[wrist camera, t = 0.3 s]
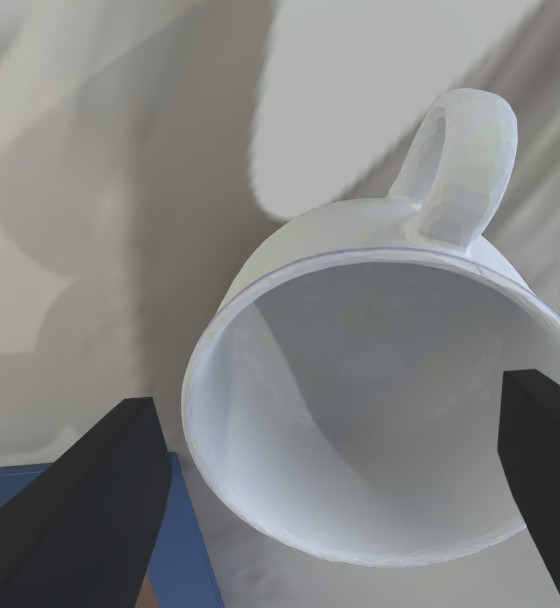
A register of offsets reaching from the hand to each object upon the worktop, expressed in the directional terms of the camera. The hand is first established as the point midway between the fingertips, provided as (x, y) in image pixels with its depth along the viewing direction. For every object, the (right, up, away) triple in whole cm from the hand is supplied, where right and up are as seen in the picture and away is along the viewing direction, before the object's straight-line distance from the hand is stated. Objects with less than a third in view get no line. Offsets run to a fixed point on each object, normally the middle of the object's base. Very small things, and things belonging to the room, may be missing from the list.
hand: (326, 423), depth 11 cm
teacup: (+3, +4, +9) cm, 11 cm away
